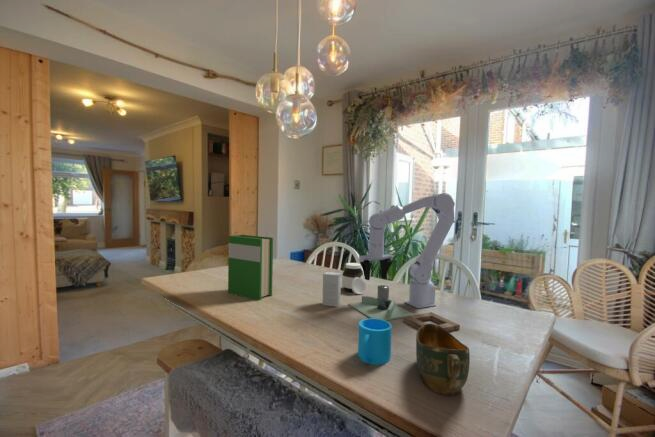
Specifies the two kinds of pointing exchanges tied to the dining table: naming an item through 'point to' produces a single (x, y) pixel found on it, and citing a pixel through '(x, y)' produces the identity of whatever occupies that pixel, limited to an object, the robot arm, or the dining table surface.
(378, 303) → the metal axle
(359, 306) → the sage V-block
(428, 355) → the cup
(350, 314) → the dining table surface
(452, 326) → the brown square frame
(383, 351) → the mug
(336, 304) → the skincare box
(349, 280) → the spread jar
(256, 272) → the hardback book
